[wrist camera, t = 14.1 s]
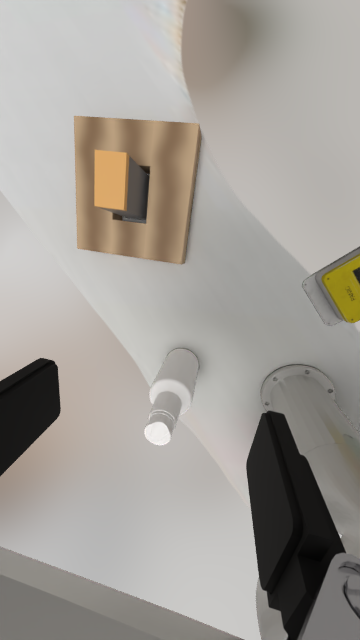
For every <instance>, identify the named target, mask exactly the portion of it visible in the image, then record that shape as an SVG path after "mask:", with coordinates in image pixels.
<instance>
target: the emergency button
mask: <svg viewBox="0 0 360 640" xmlns="http://www.w3.org/2000/svg"><path fill="white" fill-rule="evenodd" d="M302 286H303V289H304V290H305V292H306V294H307V295H308V297H309V299H310V300H311V302H312V304H313V305H314V307H315V309H316V310H317V312H318V314H319V315H320V317H321V319H322V320H323V322H324V323H325V324H326V325H327V326H332V325H335V324H337V323H339V322H341V321H343V320H344V321H346V322H349V323H355V322H357V321H359V320H360V246H359V247H358V248H356V249H354V250H352V251H351V252H349V253H347V254H346V255H344V256H342V257H341V258H339V259H337V260H335V261H334V262H332V263H330V264H329V265H327V266H325V267H324V268H322V269H320V270H319V271H317V272H315V273H313V274H312V276H310V277H308V278H307V279H306V280H304V281H303V284H302Z"/></svg>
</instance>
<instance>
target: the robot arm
mask: <svg viewBox="0 0 360 640" xmlns="http://www.w3.org/2000/svg"><path fill="white" fill-rule="evenodd" d="M274 377H275V378H274ZM335 397H336V396H335V389H334V386H333V384H332V383H331V381H330V380H329V379H328V377H327V376H326V375H325V374H323V373H322V372H321V371H319V370H317V369H315V368H313V367H310V366H305V365H291V366H286V367H283V368H280V369H278V370H276V371H274V372H273V373H272V374H270V375H269V376H268V378H267V379H266V380H265V382H264V383H263V385H262V389H261V399H262V403H263V406H264V407H265V409H266V411H267V413H263V414H262V416H261V419H260V422H259V425H258V428H257V431H256V434H255V437H254V440H253V443H252V446H251V449H250V453H249V456H248V459H247V465H246V469H247V478H248V486H249V495H250V503H251V511H252V520H253V529H254V537H255V546H256V554H257V563H258V571H259V579H258V582H257V590H256V608H257V617H258V624H259V630H260V635H261V639H262V640H360V434H359V433H358V432H357V430H356V429H355V428H354V426H353V425H352V424H351V423H350V421H349V420H348V419H347V417H346V416H345V415H344V413H343V412H342V411H341V409H340V408H339V407H338V405H337V404H336V403H335ZM59 414H60V396H59V380H58V367H57V365H56V364H55V362H54V361H52V360H48V359H44V358H40V359H38V360H36V361H34V362H32V363H31V364H29V365H27V366H26V367H24V368H22V369H20V370H19V371H17V372H15V373H14V374H12V375H10V376H8V377H7V378H5V379H3V380H2V381H0V476H1V475H2V474H3V473H4V472H5V471H6V470H7V469H8V468H9V467H10V466H11V465H12V464H13V463H14V462H15V461H16V460H17V459H18V457H20V456H21V455H22V454H23V453H24V452H25V451H26V450H27V448H29V446H30V445H31V444H32V443H33V442H34V441H35V440H36V439H37V438H38V437H39V436H40V435H41V434H42V433H43V432H44V431H45V430H46V429H47V428H48V427H49V426H50V425H51V424H52V423H53V422H54V421H55V420H56V419H57V418H58V416H59ZM338 533H340V534H341V535H342V538H340V536H339V534H338ZM0 640H244V639H241V638H239V637H236V636H233V635H231V634H229V633H226V632H224V631H221V630H219V629H216V628H214V627H212V626H209V625H206V624H204V623H202V622H199V621H197V620H194V619H192V618H189V617H187V616H184V615H182V614H179V613H177V612H174V611H171V610H169V609H166V608H163V607H161V606H158V605H155V604H153V603H150V602H147V601H145V600H142V599H139V598H137V597H134V596H132V595H129V594H126V593H124V592H121V591H118V590H116V589H113V588H110V587H107V586H105V585H102V584H100V583H97V582H94V581H92V580H89V579H86V578H84V577H81V576H78V575H76V574H73V573H70V572H68V571H64V570H62V569H59V568H57V567H54V566H51V565H49V564H46V563H43V562H40V561H38V560H35V559H32V558H29V557H27V556H24V555H22V554H19V553H16V552H13V551H11V550H8V549H5V548H3V547H0Z"/></svg>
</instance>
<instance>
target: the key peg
mask: <svg viewBox="0 0 360 640" xmlns="http://www.w3.org/2000/svg"><path fill="white" fill-rule="evenodd" d="M149 179H150V177H149V176H148V175H147V174H146V173H145V172H144V171H143V169H142V168H141V167H140V166H139V165H138V164H137V163H136V162H135V161H134V160H133V159H132V158H131V157H130V156H129V155H128V154H127V153H125V152H114V151H103V150H95V184H94V206H96V207H98V208H101V209H104V210H107V211H109V212H112V213H115V214H118V215H120V216H123V217H126V218H131V219H139V220H147V207H148V193H149Z"/></svg>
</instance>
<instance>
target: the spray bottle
mask: <svg viewBox="0 0 360 640" xmlns="http://www.w3.org/2000/svg"><path fill="white" fill-rule="evenodd" d="M198 368H199V363H198V359H197V357H196V356H195V355H194V354H193V353H192V352H191V351H189V350H187V349H175V350H172V351H171V352H170V353H169V354H168V355H167V357H166V359H165V361H164V363H163V365H162V367H161V369H160V371H159V373H158V374H157V376H156V378H155V380H154V382H153V384H152V386H151V388H150V393H149V397H150V401H151V403H152V405H153V407H152V409H151V411H150V414H149V417H148V423H147V425H146V427H145V431H144V433H145V436H146V438H147V439H148V440H149V441H150V442H151V443H153V444H155V445H165V444H167V443H168V442H169V441H170V439H171V435H172V432H173V430H174V428H175V427H176V423H177V420H178V417H179V415H182V414H184V413H185V412H187V411H188V409H189V408H190V406H191V403H192V399H193V394H194V389H195V384H196V378H197V373H198Z"/></svg>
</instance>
